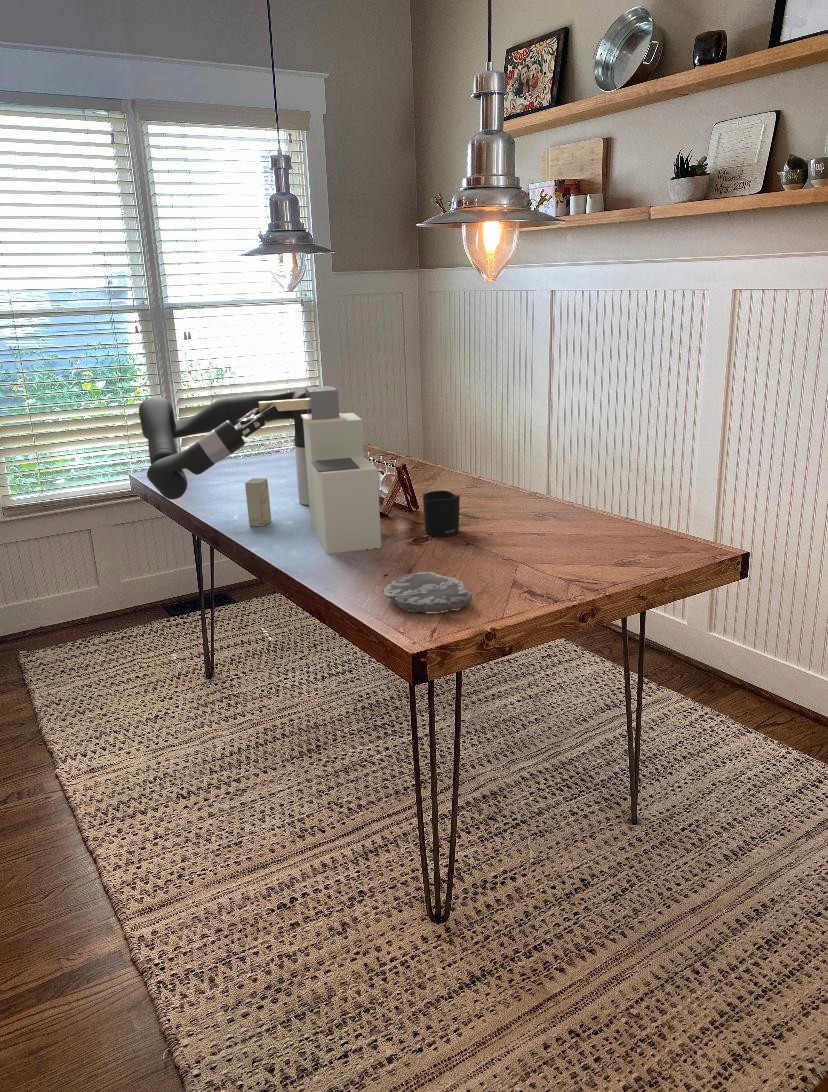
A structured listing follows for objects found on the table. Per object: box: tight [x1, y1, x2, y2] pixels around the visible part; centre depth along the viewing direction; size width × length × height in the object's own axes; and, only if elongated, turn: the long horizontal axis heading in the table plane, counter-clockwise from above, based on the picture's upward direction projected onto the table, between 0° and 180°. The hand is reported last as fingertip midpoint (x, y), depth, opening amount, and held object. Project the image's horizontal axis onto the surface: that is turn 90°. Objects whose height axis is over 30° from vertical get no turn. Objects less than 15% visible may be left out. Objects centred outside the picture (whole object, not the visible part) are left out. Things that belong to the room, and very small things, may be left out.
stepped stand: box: [301, 412, 382, 555], centre depth 217 cm, size 14×28×30 cm, turn 15°
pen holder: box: [422, 490, 461, 537], centre depth 220 cm, size 9×9×10 cm
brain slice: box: [382, 571, 473, 613], centre depth 175 cm, size 20×17×3 cm
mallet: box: [258, 385, 340, 420], centre depth 217 cm, size 20×9×7 cm, turn 105°
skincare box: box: [244, 477, 272, 527], centre depth 233 cm, size 6×4×12 cm
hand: (274, 406), depth 216 cm, fingers open, 8 cm apart
